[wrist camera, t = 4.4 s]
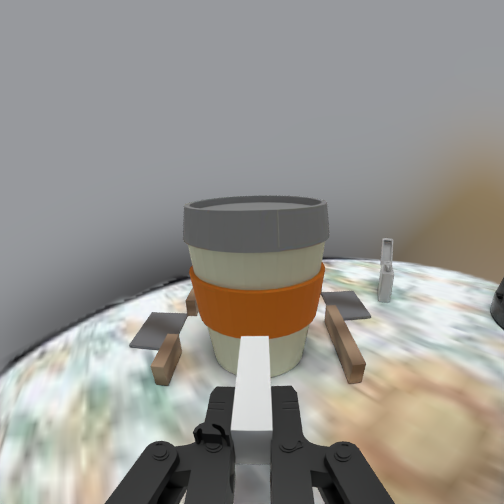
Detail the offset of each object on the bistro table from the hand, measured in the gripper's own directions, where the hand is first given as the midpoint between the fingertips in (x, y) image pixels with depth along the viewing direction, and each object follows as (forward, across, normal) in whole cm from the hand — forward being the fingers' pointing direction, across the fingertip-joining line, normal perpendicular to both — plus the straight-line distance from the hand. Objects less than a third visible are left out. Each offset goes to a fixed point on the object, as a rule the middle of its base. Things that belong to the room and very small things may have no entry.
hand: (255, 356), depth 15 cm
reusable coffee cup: (+11, 0, -8) cm, 13 cm away
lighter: (+24, +19, -8) cm, 32 cm away
